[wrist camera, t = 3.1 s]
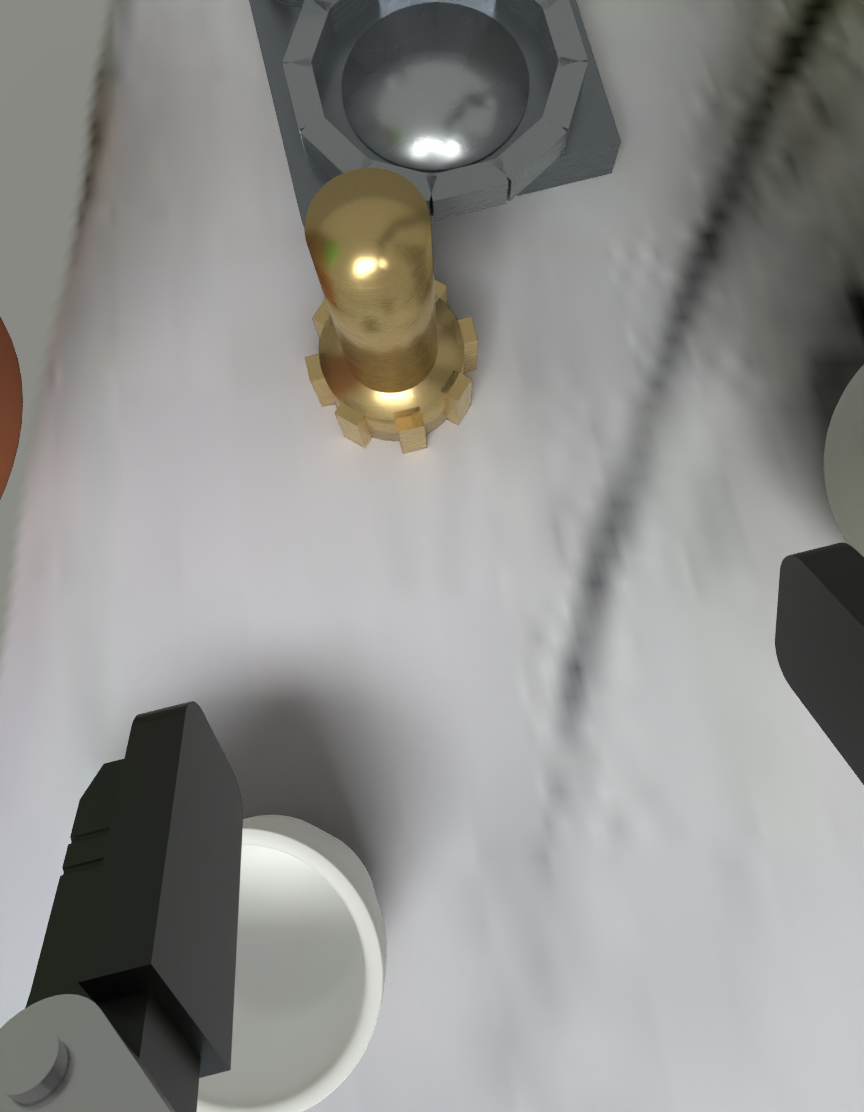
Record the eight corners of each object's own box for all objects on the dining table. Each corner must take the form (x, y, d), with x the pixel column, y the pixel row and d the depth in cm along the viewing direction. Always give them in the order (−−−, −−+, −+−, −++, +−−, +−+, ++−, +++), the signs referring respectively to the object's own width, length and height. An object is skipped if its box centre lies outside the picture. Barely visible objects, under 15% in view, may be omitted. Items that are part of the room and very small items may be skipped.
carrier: (531, -83, 34) (545, -236, 28) (620, 202, 31) (655, 97, 26) (248, -15, 33) (206, -155, 28) (317, 276, 31) (287, 186, 26)
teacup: (437, 868, 28) (433, 909, 22) (331, 1088, 27) (299, 1187, 21) (183, 731, 29) (120, 739, 23) (71, 937, 28) (-21, 996, 22)
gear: (454, 287, 31) (452, 97, 21) (492, 431, 30) (510, 303, 20) (303, 323, 31) (231, 150, 21) (337, 469, 30) (278, 359, 20)
